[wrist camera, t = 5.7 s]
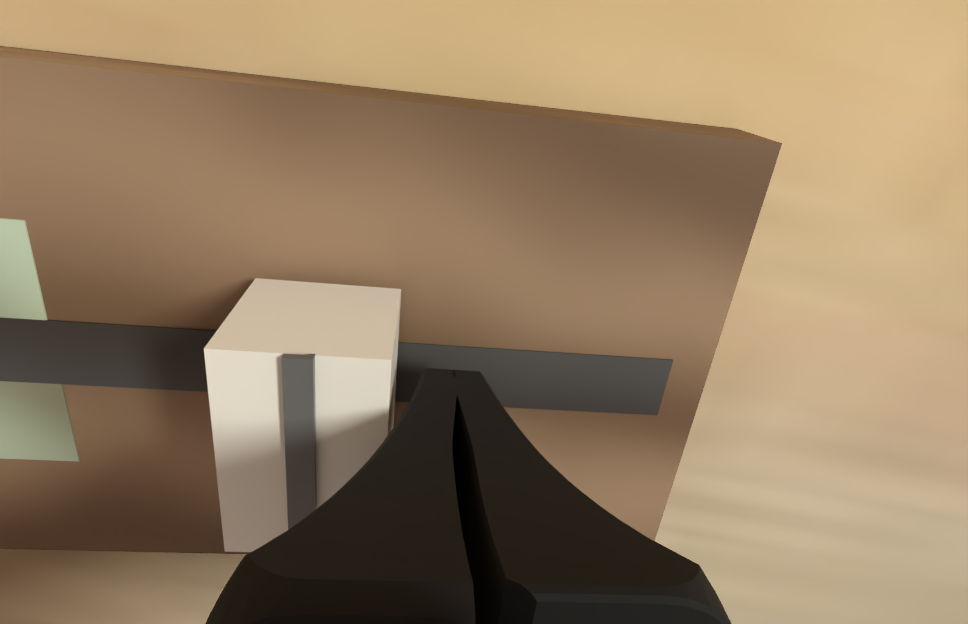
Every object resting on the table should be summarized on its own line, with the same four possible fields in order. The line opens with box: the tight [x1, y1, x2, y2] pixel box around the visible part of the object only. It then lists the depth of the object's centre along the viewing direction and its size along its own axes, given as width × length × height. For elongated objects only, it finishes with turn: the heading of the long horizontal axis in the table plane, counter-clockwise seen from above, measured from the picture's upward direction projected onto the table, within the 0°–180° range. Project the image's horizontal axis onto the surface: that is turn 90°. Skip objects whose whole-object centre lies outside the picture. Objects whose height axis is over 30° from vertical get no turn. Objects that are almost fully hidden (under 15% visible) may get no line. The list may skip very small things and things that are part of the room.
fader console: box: [0, 46, 782, 554], centre depth 14 cm, size 12×22×2 cm, turn 84°
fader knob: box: [204, 278, 401, 552], centre depth 12 cm, size 4×3×3 cm, turn 174°
